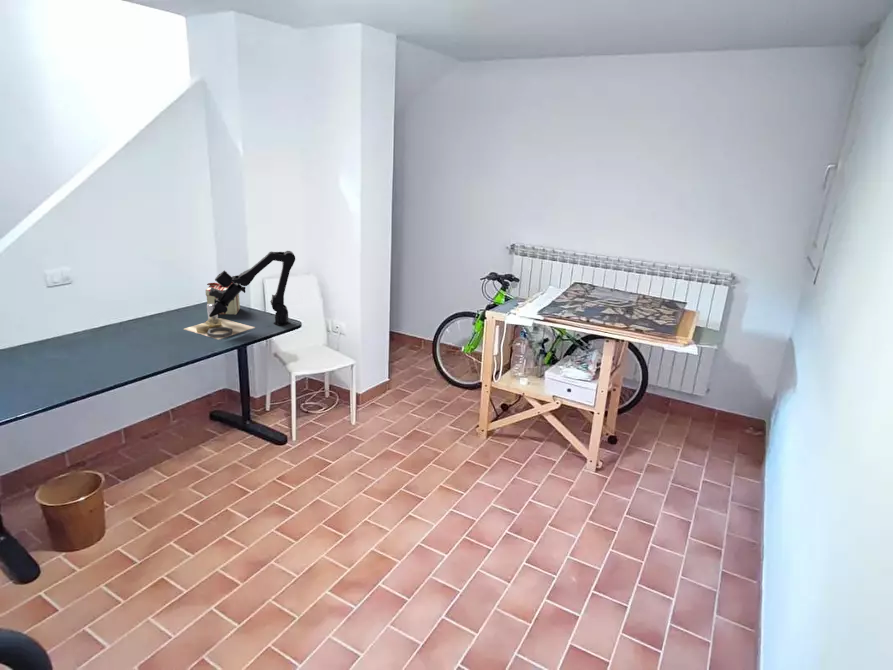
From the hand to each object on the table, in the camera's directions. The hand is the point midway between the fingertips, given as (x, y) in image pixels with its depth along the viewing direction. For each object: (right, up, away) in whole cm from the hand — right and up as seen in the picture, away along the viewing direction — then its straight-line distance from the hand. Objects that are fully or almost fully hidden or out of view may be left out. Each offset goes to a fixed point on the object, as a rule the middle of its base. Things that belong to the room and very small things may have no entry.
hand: (209, 315), depth 284 cm
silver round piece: (+1, -5, +2) cm, 6 cm away
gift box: (-3, +2, +28) cm, 28 cm away
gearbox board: (+5, -8, 0) cm, 9 cm away
